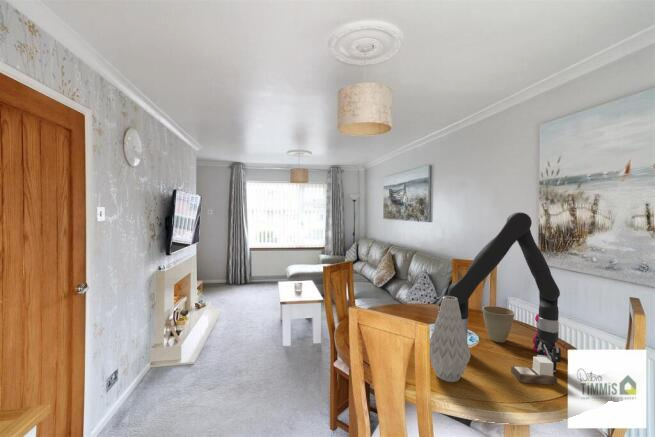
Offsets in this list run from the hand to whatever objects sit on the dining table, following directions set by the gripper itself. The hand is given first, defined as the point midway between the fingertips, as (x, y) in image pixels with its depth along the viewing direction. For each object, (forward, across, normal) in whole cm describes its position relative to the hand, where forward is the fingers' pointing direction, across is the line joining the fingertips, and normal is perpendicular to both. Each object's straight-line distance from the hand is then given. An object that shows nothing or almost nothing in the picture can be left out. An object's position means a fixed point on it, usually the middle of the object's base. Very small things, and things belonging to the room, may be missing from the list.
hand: (546, 364), depth 134 cm
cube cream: (-1, +9, -7) cm, 11 cm away
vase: (+2, +12, -45) cm, 47 cm away
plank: (+2, +9, -10) cm, 14 cm away
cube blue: (+2, 0, 0) cm, 2 cm away
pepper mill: (+2, -18, +8) cm, 20 cm away
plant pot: (+2, -29, -8) cm, 30 cm away
